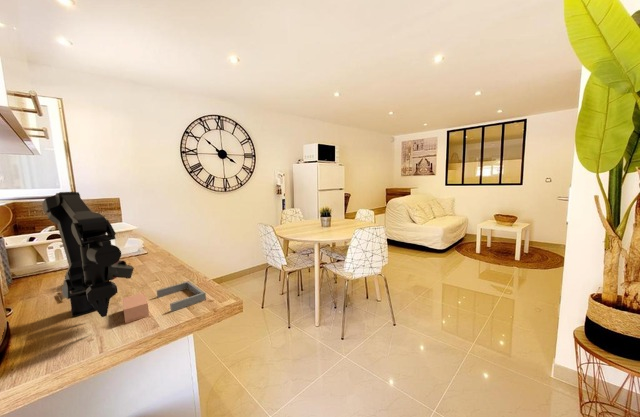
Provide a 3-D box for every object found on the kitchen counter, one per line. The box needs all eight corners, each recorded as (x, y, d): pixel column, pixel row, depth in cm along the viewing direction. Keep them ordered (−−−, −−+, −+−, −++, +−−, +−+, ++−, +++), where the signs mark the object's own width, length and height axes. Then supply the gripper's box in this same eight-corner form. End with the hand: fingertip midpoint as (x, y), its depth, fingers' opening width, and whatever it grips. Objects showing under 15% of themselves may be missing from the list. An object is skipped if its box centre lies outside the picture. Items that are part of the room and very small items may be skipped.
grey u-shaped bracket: (171, 311, 82) (171, 304, 82) (157, 296, 93) (156, 290, 93) (206, 299, 90) (205, 292, 90) (189, 287, 101) (188, 281, 101)
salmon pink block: (125, 324, 76) (123, 309, 76) (123, 311, 84) (122, 298, 83) (149, 316, 80) (147, 303, 80) (145, 305, 88) (144, 292, 87)
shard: (61, 304, 90) (61, 299, 90) (39, 305, 90) (38, 300, 89) (87, 290, 101) (87, 286, 100) (67, 291, 100) (67, 287, 100)
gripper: (136, 259, 73) (142, 311, 75) (123, 248, 86) (128, 292, 88) (84, 270, 65) (91, 327, 67) (78, 256, 78) (85, 304, 80)
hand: (102, 310), depth 76 cm, fingers open, 9 cm apart
